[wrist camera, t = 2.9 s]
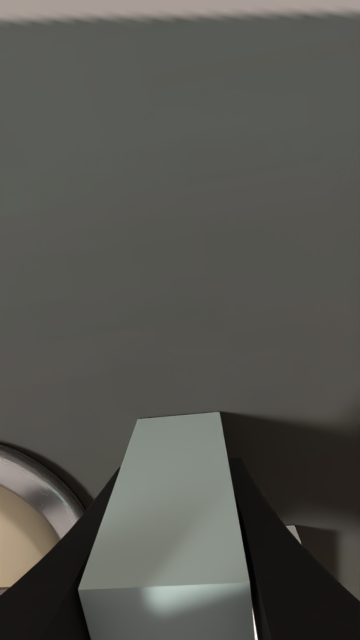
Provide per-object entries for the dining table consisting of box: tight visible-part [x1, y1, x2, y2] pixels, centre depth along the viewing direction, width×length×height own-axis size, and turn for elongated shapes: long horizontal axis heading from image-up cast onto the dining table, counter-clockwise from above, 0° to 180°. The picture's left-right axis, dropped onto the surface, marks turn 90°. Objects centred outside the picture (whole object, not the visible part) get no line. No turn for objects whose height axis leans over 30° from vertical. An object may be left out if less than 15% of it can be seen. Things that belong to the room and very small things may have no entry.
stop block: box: [78, 412, 255, 640], centre depth 10 cm, size 4×4×7 cm
